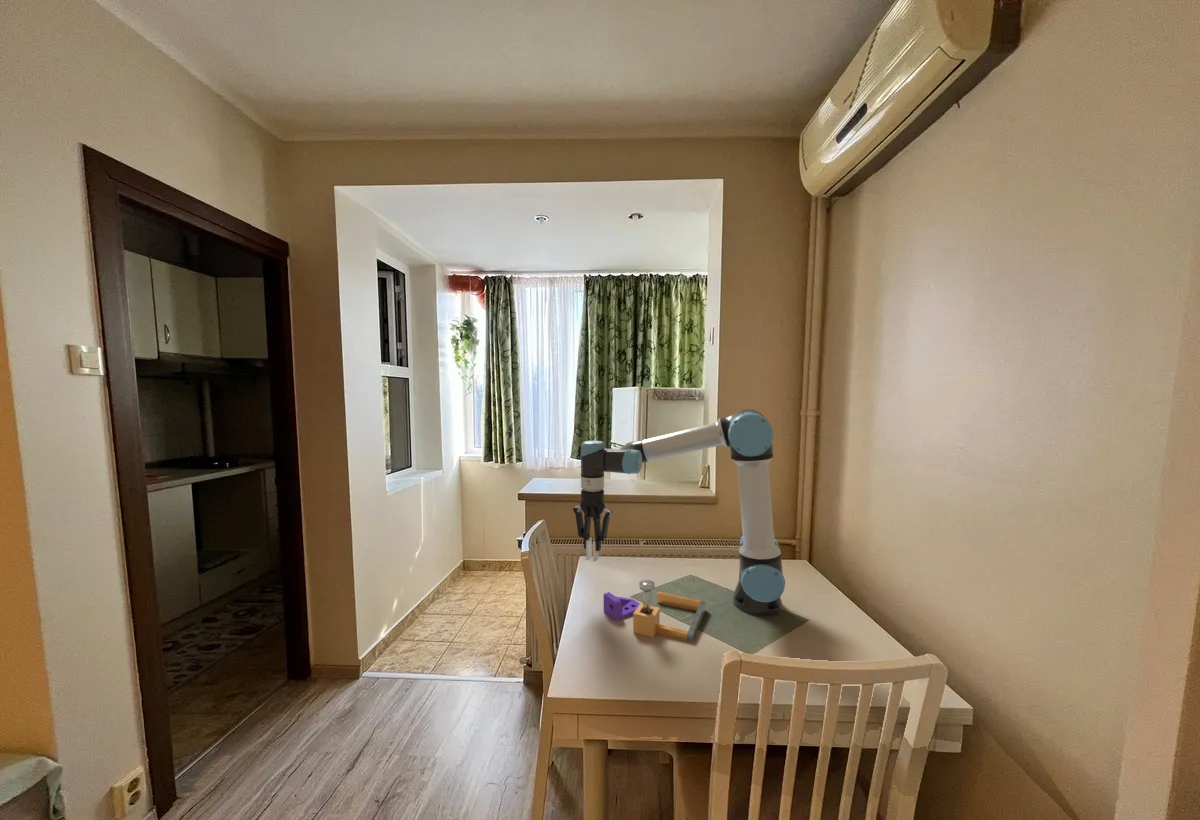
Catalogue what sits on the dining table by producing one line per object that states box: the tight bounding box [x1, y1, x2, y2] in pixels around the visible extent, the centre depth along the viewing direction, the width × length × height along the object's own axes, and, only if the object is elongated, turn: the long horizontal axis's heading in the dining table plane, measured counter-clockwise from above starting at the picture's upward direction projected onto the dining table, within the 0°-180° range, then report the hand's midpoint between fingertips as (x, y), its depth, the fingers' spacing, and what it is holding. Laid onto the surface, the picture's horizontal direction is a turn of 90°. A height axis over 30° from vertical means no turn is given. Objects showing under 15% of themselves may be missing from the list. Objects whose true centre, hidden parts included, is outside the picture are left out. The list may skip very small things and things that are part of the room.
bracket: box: [603, 591, 641, 621], centre depth 138 cm, size 12×7×7 cm, turn 126°
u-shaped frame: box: [655, 591, 707, 643], centre depth 132 cm, size 16×20×4 cm
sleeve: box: [632, 603, 661, 638], centre depth 126 cm, size 6×6×7 cm
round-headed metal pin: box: [638, 579, 656, 615], centre depth 126 cm, size 4×4×9 cm
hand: (592, 559), depth 143 cm, fingers closed
